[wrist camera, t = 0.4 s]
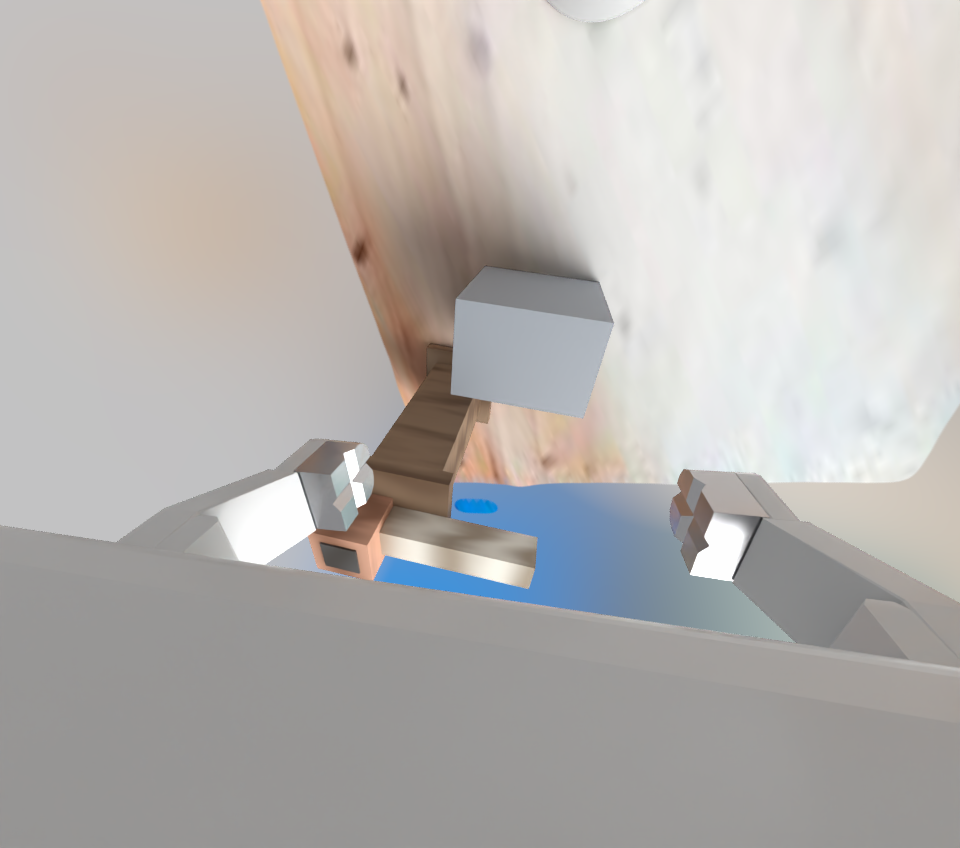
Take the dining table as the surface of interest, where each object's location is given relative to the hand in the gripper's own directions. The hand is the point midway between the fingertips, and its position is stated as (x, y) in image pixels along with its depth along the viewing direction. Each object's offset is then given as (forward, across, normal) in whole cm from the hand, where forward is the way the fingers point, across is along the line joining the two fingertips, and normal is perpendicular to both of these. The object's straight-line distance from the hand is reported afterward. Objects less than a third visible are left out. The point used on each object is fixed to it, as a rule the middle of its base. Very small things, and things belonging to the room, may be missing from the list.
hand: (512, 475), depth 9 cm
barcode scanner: (+15, +8, +18) cm, 25 cm away
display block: (+40, +1, +4) cm, 40 cm away
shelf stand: (+42, +12, +14) cm, 45 cm away
